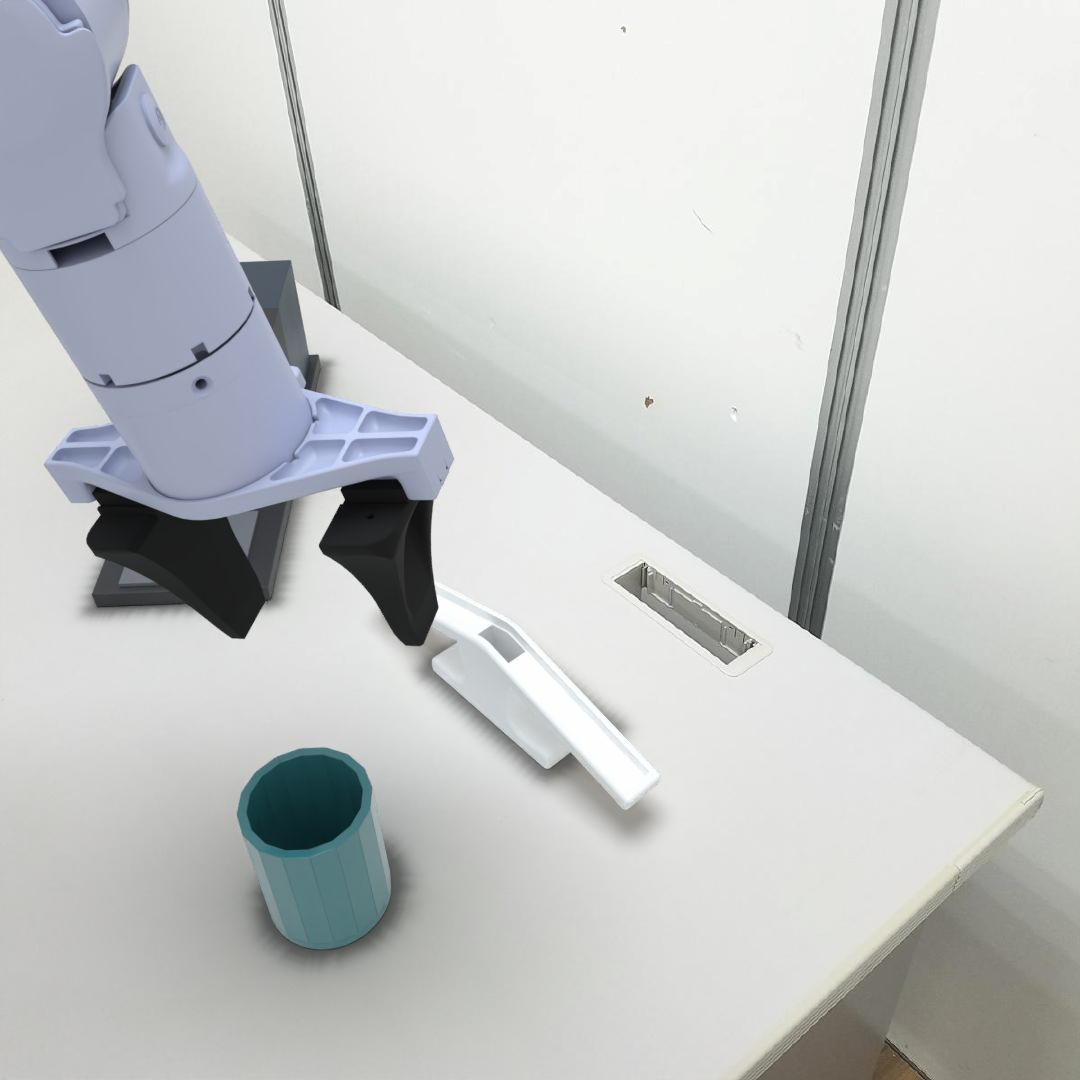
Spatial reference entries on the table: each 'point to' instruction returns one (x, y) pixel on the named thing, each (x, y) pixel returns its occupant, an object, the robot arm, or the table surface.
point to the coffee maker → (259, 526)
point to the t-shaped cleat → (533, 697)
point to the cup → (316, 846)
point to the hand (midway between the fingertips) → (332, 622)
